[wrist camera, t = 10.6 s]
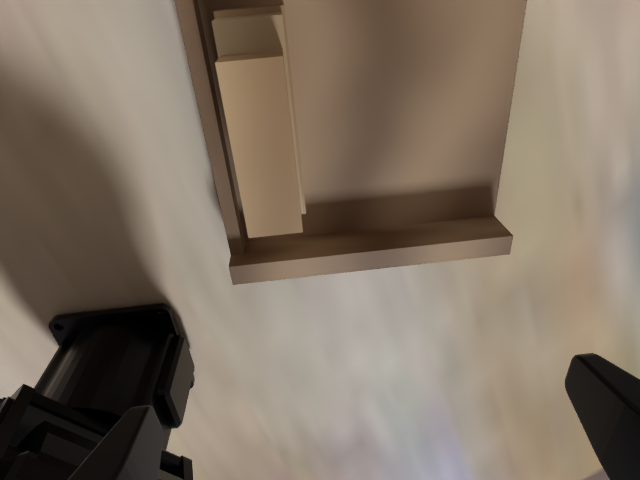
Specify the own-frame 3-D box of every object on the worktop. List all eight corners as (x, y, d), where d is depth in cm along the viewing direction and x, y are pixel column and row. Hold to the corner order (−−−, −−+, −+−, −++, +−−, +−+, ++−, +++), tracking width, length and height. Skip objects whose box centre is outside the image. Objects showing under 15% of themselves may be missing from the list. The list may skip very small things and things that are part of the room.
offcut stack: (253, 204, 20) (246, 256, 16) (218, 9, 16) (198, 16, 12) (304, 198, 20) (310, 250, 16) (283, 3, 16) (284, 8, 12)
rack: (238, 250, 22) (232, 284, 20) (168, -85, 15) (145, -100, 12) (483, 223, 23) (509, 254, 20) (530, -116, 15) (581, -137, 13)
